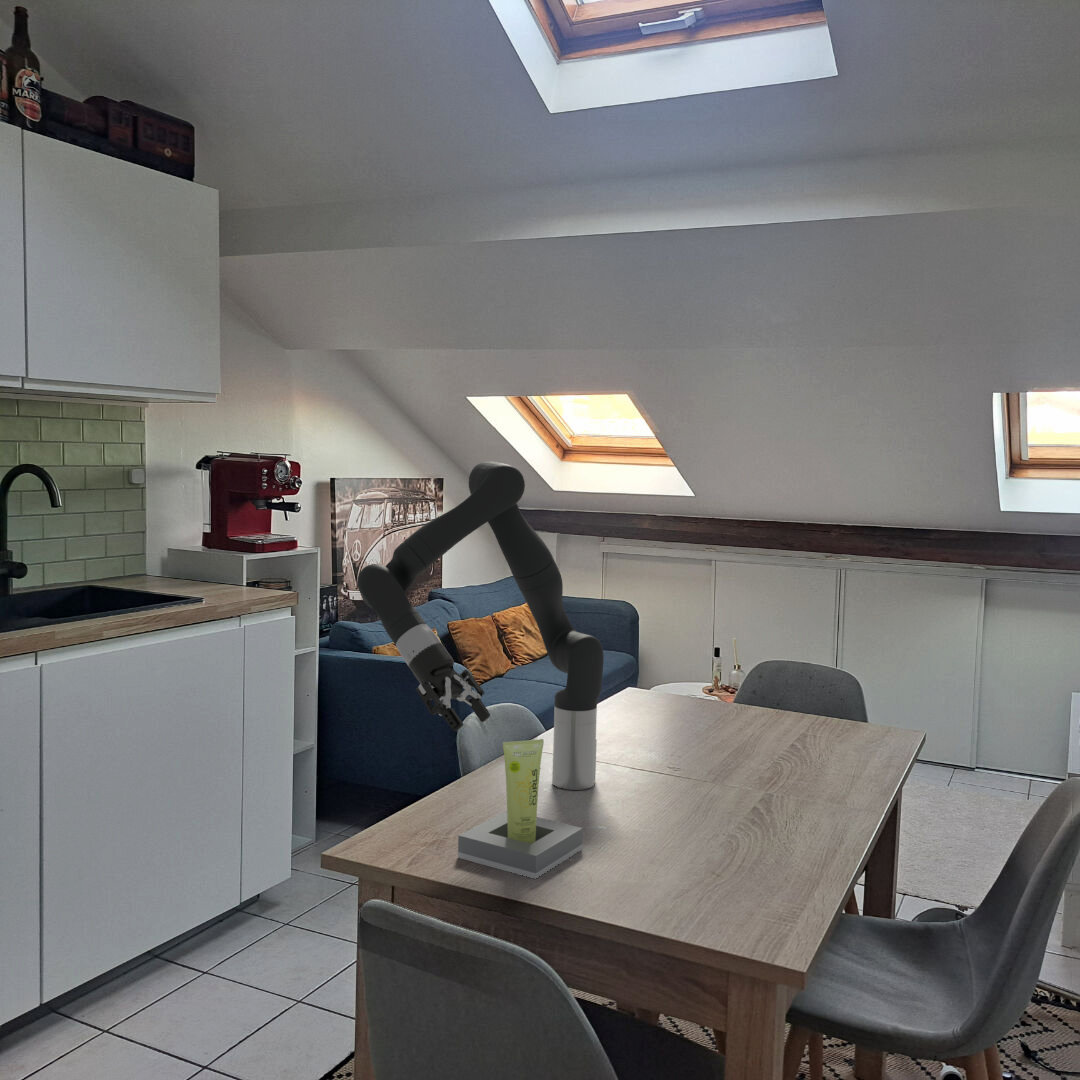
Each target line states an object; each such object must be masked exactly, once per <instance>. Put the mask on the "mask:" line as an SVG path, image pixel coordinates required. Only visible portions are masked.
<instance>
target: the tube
mask: <svg viewBox="0 0 1080 1080" xmlns="http://www.w3.org/2000/svg"><path fill="white" fill-rule="evenodd" d="M502 748H503V756H504V770H505V771H504V772H505V786H506V787H505V788H506V811H507V826H508V838H510V839H514V840H518V841H521V842H525V843H529V844H532V843H534V842H535V840H536V818H537V817H538V800H539V799H538V798H539V787H540V786H539V783H540V774H541V764H542V762H541V761H542V755H543V754H542V753H543V748H544V738H540V739H527V740H516V741H515V740H514V741H503V742H502Z"/></svg>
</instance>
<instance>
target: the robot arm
mask: <svg viewBox="0 0 1080 1080" xmlns="http://www.w3.org/2000/svg"><path fill="white" fill-rule="evenodd" d="M525 483H526V481H525V479H524V476H523V473H522V472H521V471H520V470H519V469H518V468H517V467H515V466H512V465H510V464H507V463H502V462H497V461H484V462H483V461H482V462H480V463H478V464H476V465H475V466H474V467H473V468H472V470H471V472H470V474H469V477H468V491H469V493H470V495H469V496H468V497H467V498H466V499H464V500H463V501H462V502H460V504H458V505H457V506H456V505H455V506H454V508H451V509H450V510H448V511H446V512H445V513H443V514H440V515H439V516H437V517H436V518H434V519H432V520H430V521H427V523H425V524H424V525H422V526H421V527H419V528H418V529H417V530H415V532H413V533H412V534H411V535H410V536H408V537H406V539H405V540H404V541H402V542H401V543H400V544H399V545H398V546H397V547H396V548H395V549H394V551H393V554H392V556H391V557H392V558H391V560H390V561H389V562H388V563H387V564H385V565H383V564H380V563H372V564H369V565H366V566H365V567H363V568H362V569H361V570H360V572H359V573H358V576H357V582H356V583H357V588H358V591H359V593H360V595H361V598H362V600H363V602H364V604H365V605H366V606H368V607H369V608H370V609H372V610H373V611H374V613H375V614H376V615H377V616H378V618H379V620H380V622H381V624H382V626H383V628H384V630H385V632H386V634H387V635H388V636H389V638H390V639H391V641H392V642H393V644H394V645H395V646H396V649H397V650H398V652H399V655H400V656H401V657H402V659H403V660H404V662H405V663H406V665H407V667H408V668H409V670H410V671H411V672H412V673H413V676H414V677H415V678H416V680H417V681H418V682H419V685H418V686H417V687H416V688H415V691H416V692H417V694H418V696H419V698H420V699H421V700H422V702H423V704H424V705H425V707H426V709H427V711H428V712H429V713H430V715H433V716H435V715H436V714H438V715H439V716H440V717H443V718H444V720H445V722H446V724H447V725H448V726H449V728H451V730H452V731H453V732H458V731H459V730H460V729H461V728H462V727H463V726H464V723H463V720H462V719H461V718H460V717H459V715H458V714H457V712H456V710H455V709H454V708H453V707H452V706H451V700H457V701H458V702H465V703H466V704H467V705H469V706H470V708H471V710H472V711H473V712H474V714H475V715H476V717H477V718H478V720H479V722H481V723H484V722H486V721H487V720H488V719H490V717H491V713H490V712H489V710H488V708H487V707H486V706H485V704H484V703H483V701H482V700H481V698H482V697H483V696H484V695H485V691H484V690H483V688H482V687H481V685H480V683H478V681H477V680H476V679H475V678H474V676H473V675H472V674H471V672H470V671H469V670H468V669H464V670H463V671H462V672H461V673H458V672H457V671H456V670H454V663H455V660H454V659H453V657H452V655H451V654H450V653H449V652H448V650H447V648H446V647H445V646H444V645H443V643H442V642H441V640H440V638H439V637H438V636H437V634H435V632H434V631H433V629H432V628H431V627H429V626H428V624H427V623H426V622H425V620H424V618H423V617H422V616H421V614H420V613H419V611H418V610H417V609H416V607H414V606H413V604H412V602H411V601H410V600H409V599H408V597H407V595H406V592H407V590H409V588H410V587H411V586H412V585H413V583H414V582H415V581H416V579H418V578H419V576H420V575H421V574H423V573H424V572H425V571H426V570H428V568H430V567H431V566H432V565H433V564H434V563H436V562H437V561H438V560H439V559H440V558H441V557H443V556H444V555H445V554H446V553H447V552H449V550H451V549H453V548H454V547H455V546H456V545H457V544H458V543H459V542H461V541H462V540H464V539H465V538H466V537H467V536H469V535H471V534H472V533H473V532H474V531H476V530H478V529H479V528H481V527H482V526H483V525H485V524H486V523H487V524H488V525H489V526H490V529H491V530H492V532H493V534H494V537H495V539H496V542H497V543H498V546H499V548H500V550H501V552H502V555H503V556H504V559H505V561H506V563H507V564H508V568H509V570H510V571H511V574H512V577H513V578H514V581H515V583H516V584H517V585H516V586H517V587H518V588H519V591H520V592H521V595H522V596H523V599H524V600H525V602H526V604H527V606H528V609H529V611H530V613H531V615H532V616H533V618H534V620H535V623H536V625H537V627H538V631H539V633H540V636H541V639H542V641H543V645H544V647H545V650H546V653H547V656H548V658H549V660H550V662H551V664H552V665H553V667H554V668H555V669H557V670H558V671H560V672H561V673H565V674H567V675H566V676H567V679H566V686H565V688H564V689H559V690H557V692H555V696H554V709H553V710H554V712H553V713H554V714H553V715H554V716H553V717H554V719H553V742H552V743H553V744H552V745H553V747H552V749H553V750H552V773H551V774H552V775H551V776H552V777H551V780H552V781H551V783H552V785H553V786H554V785H555V786H554V787H556V786H557V788H559V789H562V788H563V790H570V791H578V790H579V791H581V790H588V789H590V788H593V787H594V786H595V782H596V771H597V745H598V744H597V715H598V714H597V712H598V710H597V709H598V707H597V706H598V700H599V697H600V696H601V692H602V686H603V685H602V684H603V673H604V663H605V662H604V659H605V658H604V648H603V645H602V644H601V642H600V640H599V639H598V638H597V637H595V636H593V635H590V634H586V633H582V632H579V631H577V630H576V629H575V628H574V626H573V624H572V623H571V622H570V620H569V617H568V615H567V614H566V611H565V608H564V603H563V593H564V592H563V591H564V588H563V587H564V586H563V577H562V575H561V572H560V570H559V568H558V566H557V565H558V564H557V563H556V560H555V559H554V557H553V555H552V552H551V551H550V549H549V547H548V546H547V545H546V543H545V542H544V541H543V539H542V538H541V537H540V536H539V534H538V533H537V531H536V530H534V528H533V527H532V526H531V524H530V523H528V521H527V519H526V518H525V517H524V515H523V514H522V512H521V510H520V508H519V505H518V503H519V501H520V500H521V499H522V497H523V495H524V492H525V489H526V488H525V487H526V484H525ZM463 689H464V690H463ZM432 701H433V703H434V705H433V703H432ZM451 707H452V708H451Z"/></svg>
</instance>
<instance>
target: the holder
mask: <svg viewBox="0 0 1080 1080" xmlns="http://www.w3.org/2000/svg"><path fill="white" fill-rule="evenodd" d="M583 832H584V829H583V827H581V826H576V825H572V824H568V823H563V822H560V821H555V820H551V819H547V818H543V817H539V816H537V818H536V840H535V842H534V843H532V844H529V843H525V842H521V841H518V840H514V839H510V838H508V826H507V810H506V811H503V812H502V813H500V814H498V815H497V816H495V817H492V818H490V819H488V820H486V821H484V822H481V824H479V825H476V826H474V827H472V828H470V829H468V830H466V831H464V832H463V833H460V834H458V841H457V842H458V843H457V847H458V848H457V858H458V859H462V860H465V861H469V862H473V863H476V864H479V865H483V866H487V867H489V868H493V869H498V870H501V871H504V872H507V873H511V872H512V874H515V873H516V875H519V876H522V875H523V876H522V877H526V876H527V878H529V877H530V879H533V878H534V880H537V879H538V878H540V877H542V876H543V875H545V874H546V873H548V872H549V871H551V870H552V868H553V869H554V868H555V866H556V867H557V866H559V865H560V864H562V863H564V862H565V861H566V860H568V859H570V858H572V857H573V856H574V854H575V855H576V854H578V853H579V852H581V851H582V850H583V838H584V837H583V836H584V833H583ZM577 852H578V853H577ZM569 857H570V858H569ZM563 861H564V862H563ZM558 864H559V865H558ZM550 869H551V870H550ZM547 871H548V872H547ZM544 873H545V874H544ZM542 874H543V875H542ZM541 875H542V876H541ZM539 876H540V877H539ZM536 878H537V879H536Z"/></svg>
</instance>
